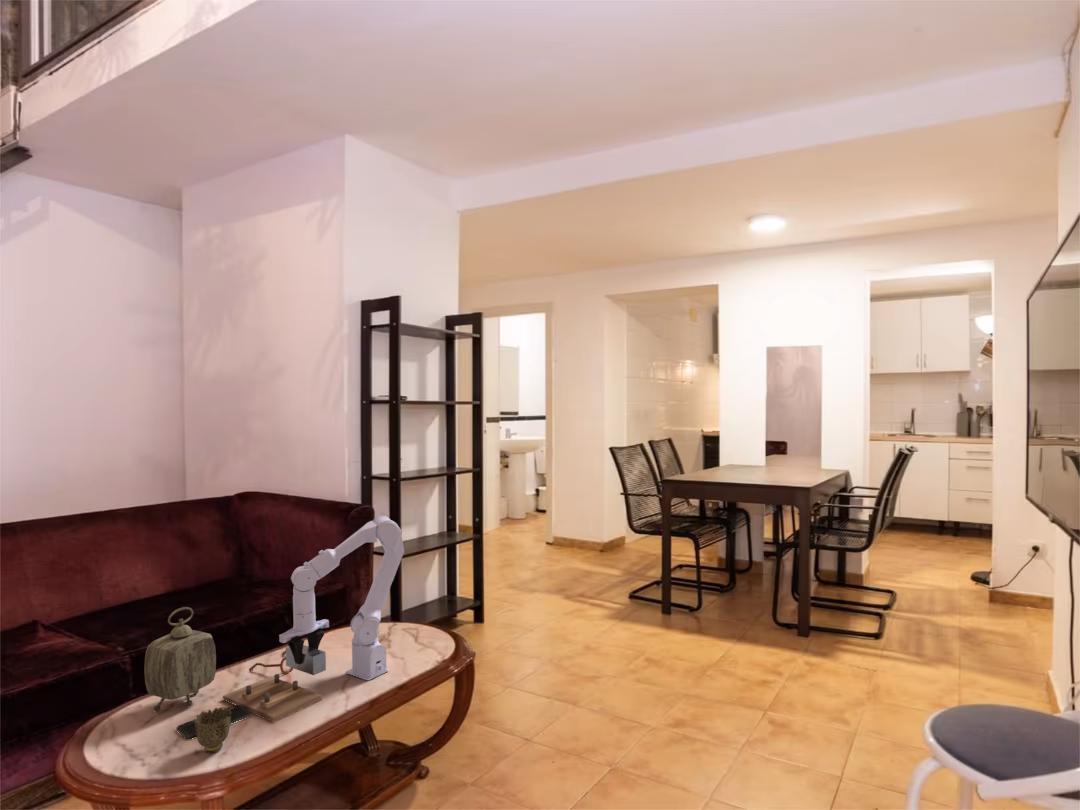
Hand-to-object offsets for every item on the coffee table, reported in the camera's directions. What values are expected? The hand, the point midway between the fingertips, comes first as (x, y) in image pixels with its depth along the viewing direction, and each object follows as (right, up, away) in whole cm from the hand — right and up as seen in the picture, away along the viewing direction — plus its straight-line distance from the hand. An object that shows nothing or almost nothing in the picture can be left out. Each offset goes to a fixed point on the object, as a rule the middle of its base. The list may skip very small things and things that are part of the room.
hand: (305, 660), depth 183 cm
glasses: (-11, -7, +14) cm, 19 cm away
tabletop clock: (-27, -7, -12) cm, 30 cm away
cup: (-9, -7, -34) cm, 36 cm away
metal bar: (0, -2, 0) cm, 2 cm away
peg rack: (-5, -7, -10) cm, 13 cm away
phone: (-15, -8, -21) cm, 27 cm away
